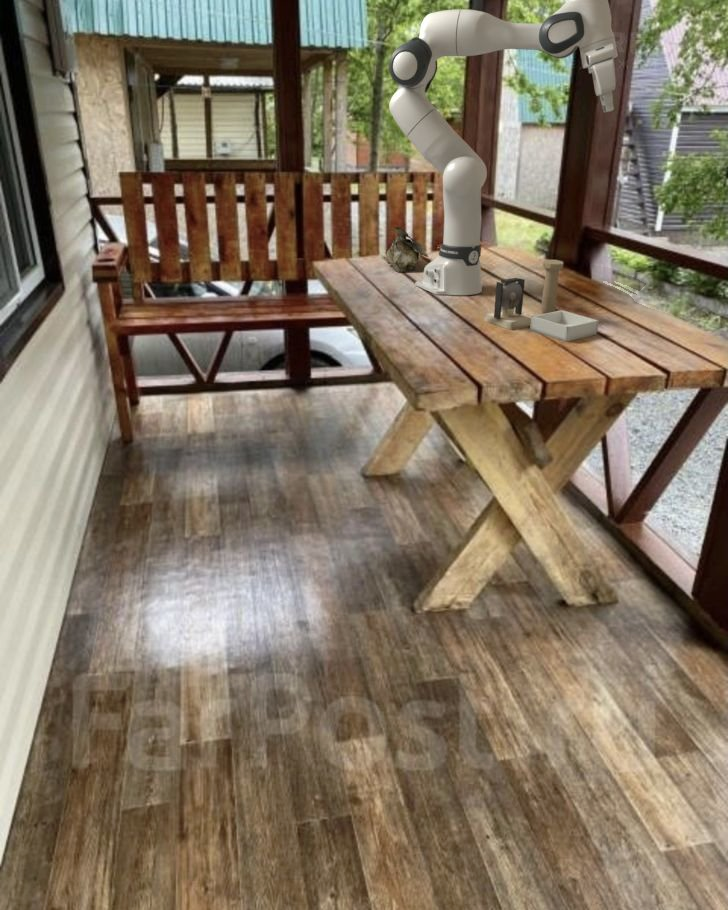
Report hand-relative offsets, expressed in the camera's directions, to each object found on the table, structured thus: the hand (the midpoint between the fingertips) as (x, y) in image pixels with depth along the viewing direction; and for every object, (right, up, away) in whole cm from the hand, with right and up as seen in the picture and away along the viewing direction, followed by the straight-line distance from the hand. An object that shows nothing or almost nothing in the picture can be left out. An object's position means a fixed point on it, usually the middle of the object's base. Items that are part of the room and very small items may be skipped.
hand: (608, 111), depth 196 cm
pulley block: (-27, -57, -1) cm, 63 cm away
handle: (-15, -54, +4) cm, 57 cm away
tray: (-15, -60, -9) cm, 63 cm away
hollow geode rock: (-50, -24, +68) cm, 88 cm away
